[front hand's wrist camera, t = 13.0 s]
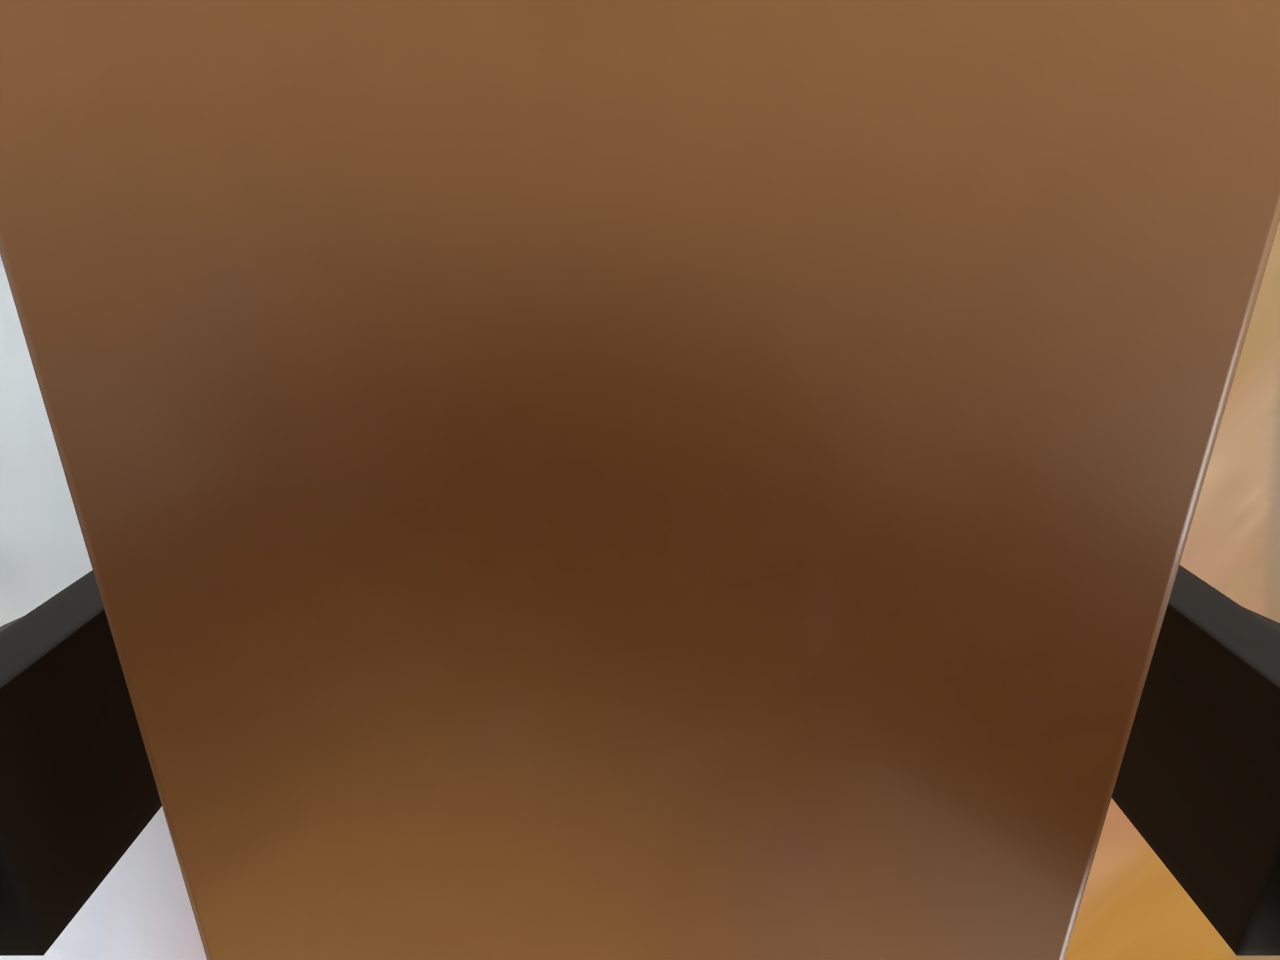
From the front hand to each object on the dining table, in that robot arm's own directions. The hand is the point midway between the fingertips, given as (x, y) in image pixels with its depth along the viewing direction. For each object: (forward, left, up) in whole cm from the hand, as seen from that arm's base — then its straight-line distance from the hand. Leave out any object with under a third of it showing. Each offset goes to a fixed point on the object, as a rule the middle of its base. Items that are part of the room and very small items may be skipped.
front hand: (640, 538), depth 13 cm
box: (+8, 0, -2) cm, 8 cm away
